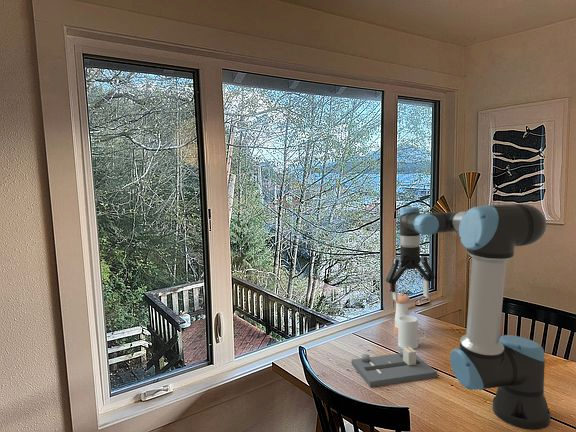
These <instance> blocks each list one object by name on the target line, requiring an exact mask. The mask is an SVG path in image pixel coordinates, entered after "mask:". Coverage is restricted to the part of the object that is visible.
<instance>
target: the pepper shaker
mask: <svg viewBox="0 0 576 432" xmlns="http://www.w3.org/2000/svg"><path fill="white" fill-rule="evenodd" d="M410 301H411V299H410V297H409V295H407V294H404V293H402V292H401V293H400V294H398V301H395V300H394V302H395V314H394V326H393V327H394V328H393V330H394V331H393V333H394V335H395V336H398V317H400V316H410V313H409V303H410Z"/></svg>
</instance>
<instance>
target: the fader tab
mask: <svg viewBox="0 0 576 432" xmlns="http://www.w3.org/2000/svg"><path fill="white" fill-rule="evenodd" d="M402 349H403V361H404V362H405V363H407V364H408V365H415V364H416V355H417V351H416V350H415V349H412V348H411V347H406V348H402Z"/></svg>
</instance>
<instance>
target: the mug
mask: <svg viewBox="0 0 576 432" xmlns="http://www.w3.org/2000/svg"><path fill="white" fill-rule="evenodd" d="M418 320H419V319H418V318H417V317H416V316H413V315H409V316H400V317H398V335H397V337H398V338H397V341H398V343H397V345H398V347H399V348H402V349H403V348H406V347H411V348H412V349H413V350H415V349H418V347H419V342H421V341H423V340H424V339H425V337H426V336H427V332H426V328H425V326H424V325H423V324H421V323H420V322H418ZM418 326H419V327H420V328H422V329H423V331H424V336H423V337H420V338H419V337H418V336H419V334H418V333H419V332H418V331H419V329H418V328H419V327H418Z"/></svg>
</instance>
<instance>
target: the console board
mask: <svg viewBox="0 0 576 432" xmlns="http://www.w3.org/2000/svg"><path fill="white" fill-rule="evenodd" d="M351 366H352V367H353V368H354V369H355V371H356V372H357V373H358V374H359V375H360V376H361V378H362V379H363V381H364V382H365V383H366V384H367V385H368V387H369V388H374V387H375V388H376V387H380V386H386V385H387V386H388V385H394V384H399V383H407V382H415V381H420V380H426V379H427V380H428V379H435V378H438V371H436V369H434V368H433V367H431V366H430V365H429V364H428V363H426V362H425V361H424V360H423V359H422V358H420V356H418V355H417V354H416V364H415V365H408V364H407V363H405V362H404V361H403V348H402V349H399V353H397V352H396V353H392V354H384V355H377V356H370V355H369V354H367V353H364V354H362V355H361V357H360V358H354V359H351Z"/></svg>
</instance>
